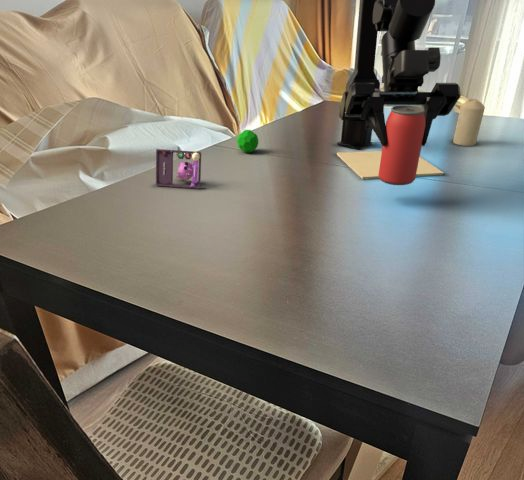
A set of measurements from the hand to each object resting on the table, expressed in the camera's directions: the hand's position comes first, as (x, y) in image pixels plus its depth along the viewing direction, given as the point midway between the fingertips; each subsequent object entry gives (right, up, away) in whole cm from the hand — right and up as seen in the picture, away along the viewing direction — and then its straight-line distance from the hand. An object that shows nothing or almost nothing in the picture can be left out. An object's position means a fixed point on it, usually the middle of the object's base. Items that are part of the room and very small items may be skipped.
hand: (404, 144), depth 87 cm
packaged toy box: (-41, -2, +14) cm, 43 cm away
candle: (+27, +17, +41) cm, 51 cm away
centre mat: (+3, +6, +26) cm, 27 cm away
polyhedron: (-28, +12, +33) cm, 45 cm away
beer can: (0, -5, +5) cm, 7 cm away
